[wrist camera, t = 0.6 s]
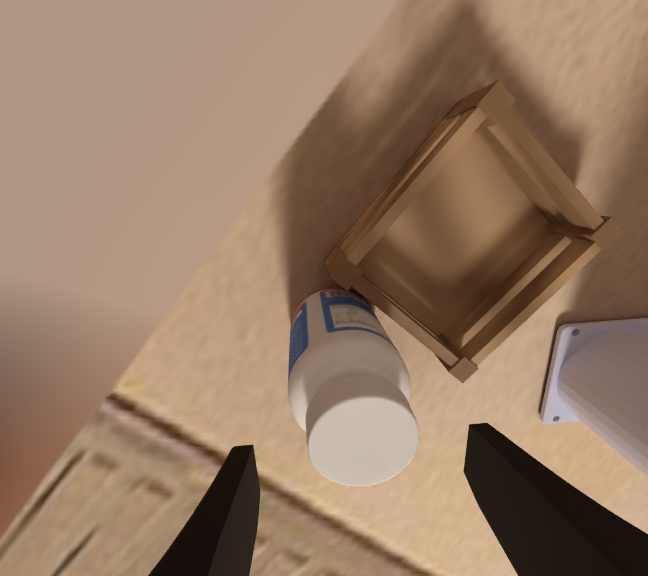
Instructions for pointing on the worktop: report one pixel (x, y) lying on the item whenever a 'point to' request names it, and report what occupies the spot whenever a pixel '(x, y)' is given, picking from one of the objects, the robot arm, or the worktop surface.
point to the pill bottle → (349, 390)
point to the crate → (471, 234)
